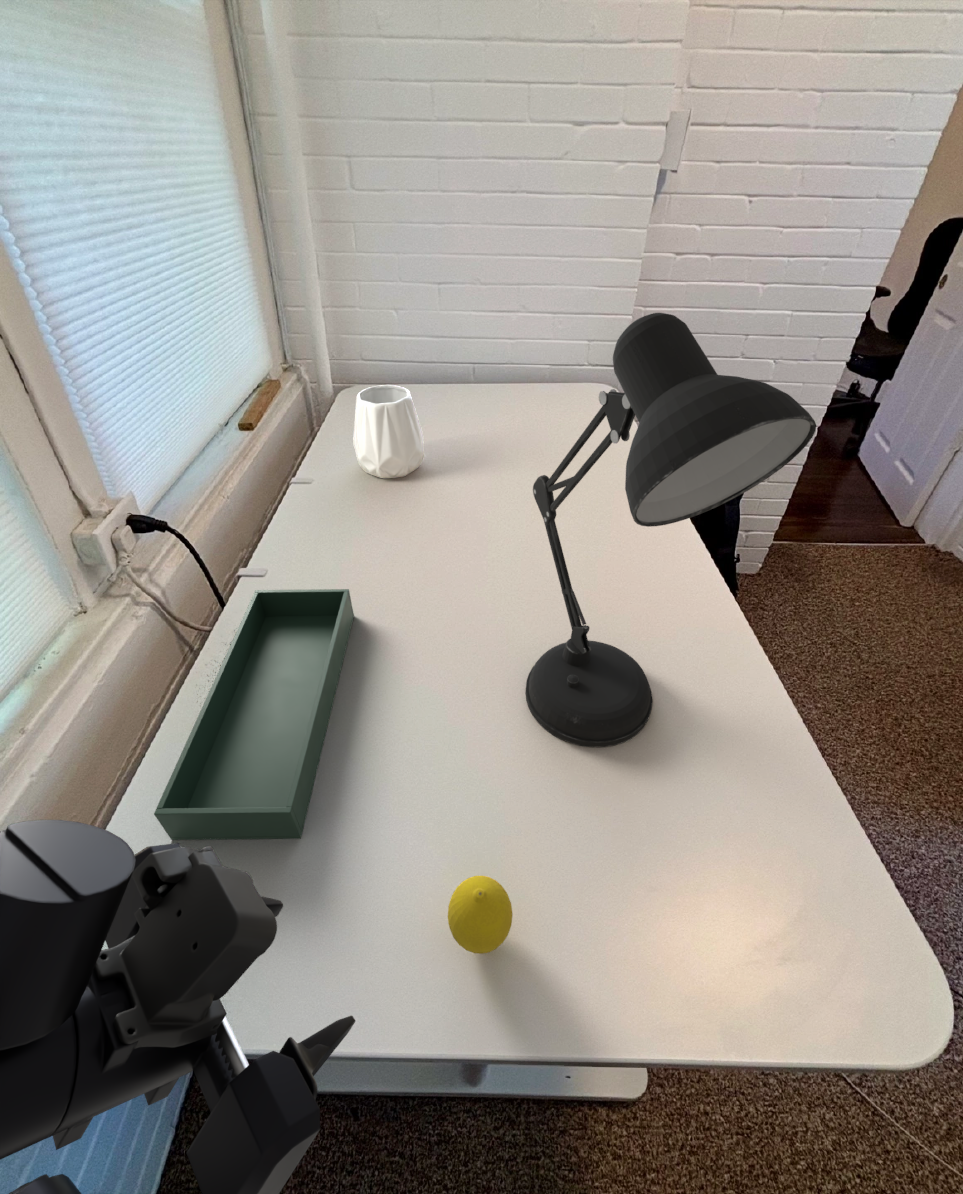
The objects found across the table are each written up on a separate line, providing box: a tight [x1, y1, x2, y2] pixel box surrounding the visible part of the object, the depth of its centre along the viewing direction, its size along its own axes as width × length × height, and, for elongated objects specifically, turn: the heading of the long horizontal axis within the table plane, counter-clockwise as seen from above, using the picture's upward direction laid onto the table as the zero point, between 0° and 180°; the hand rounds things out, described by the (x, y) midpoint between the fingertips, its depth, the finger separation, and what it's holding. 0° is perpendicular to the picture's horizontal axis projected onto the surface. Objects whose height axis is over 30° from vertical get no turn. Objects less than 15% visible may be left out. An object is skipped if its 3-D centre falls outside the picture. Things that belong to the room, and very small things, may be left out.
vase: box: [352, 384, 425, 479], centre depth 117 cm, size 14×14×15 cm
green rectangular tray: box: [153, 588, 355, 841], centre depth 72 cm, size 34×13×5 cm, turn 0°
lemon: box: [447, 875, 513, 955], centre depth 50 cm, size 6×6×8 cm
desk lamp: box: [525, 312, 817, 748], centre depth 59 cm, size 24×26×45 cm
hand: (313, 962), depth 39 cm, fingers open, 9 cm apart
